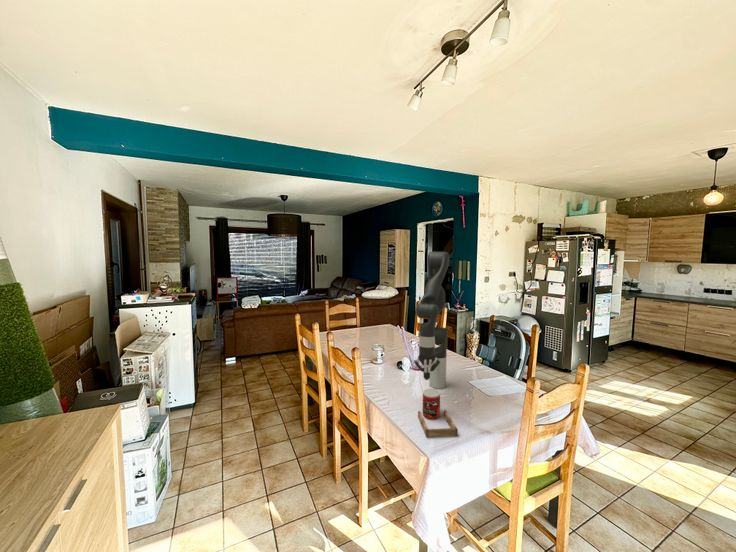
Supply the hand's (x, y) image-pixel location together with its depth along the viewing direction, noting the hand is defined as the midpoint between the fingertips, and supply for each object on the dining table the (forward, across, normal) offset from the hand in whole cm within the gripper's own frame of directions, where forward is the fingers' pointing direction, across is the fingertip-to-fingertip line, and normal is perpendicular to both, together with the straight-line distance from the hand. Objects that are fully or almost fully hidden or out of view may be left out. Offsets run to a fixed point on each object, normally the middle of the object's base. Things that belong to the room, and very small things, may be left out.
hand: (426, 379), depth 150 cm
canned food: (+14, 0, +9) cm, 16 cm away
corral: (+14, 0, +18) cm, 22 cm away
